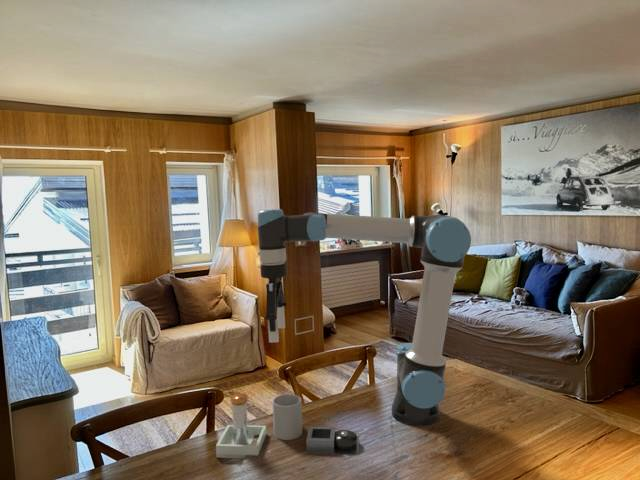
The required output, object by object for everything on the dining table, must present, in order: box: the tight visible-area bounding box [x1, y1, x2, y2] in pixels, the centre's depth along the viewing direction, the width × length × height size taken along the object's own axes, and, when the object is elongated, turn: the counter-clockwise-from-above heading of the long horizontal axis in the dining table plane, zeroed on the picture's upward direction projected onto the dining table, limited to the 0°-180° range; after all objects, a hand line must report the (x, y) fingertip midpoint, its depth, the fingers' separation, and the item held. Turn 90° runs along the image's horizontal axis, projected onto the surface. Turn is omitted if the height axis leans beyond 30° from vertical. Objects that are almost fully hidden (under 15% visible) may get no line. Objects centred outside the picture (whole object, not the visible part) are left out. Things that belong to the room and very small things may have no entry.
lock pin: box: [230, 392, 248, 445], centre depth 136 cm, size 5×5×14 cm
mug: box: [272, 393, 303, 441], centre depth 143 cm, size 12×8×11 cm
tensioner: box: [305, 426, 360, 456], centre depth 135 cm, size 14×10×4 cm
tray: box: [215, 424, 267, 459], centre depth 136 cm, size 12×12×3 cm
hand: (277, 334), depth 141 cm, fingers open, 13 cm apart
